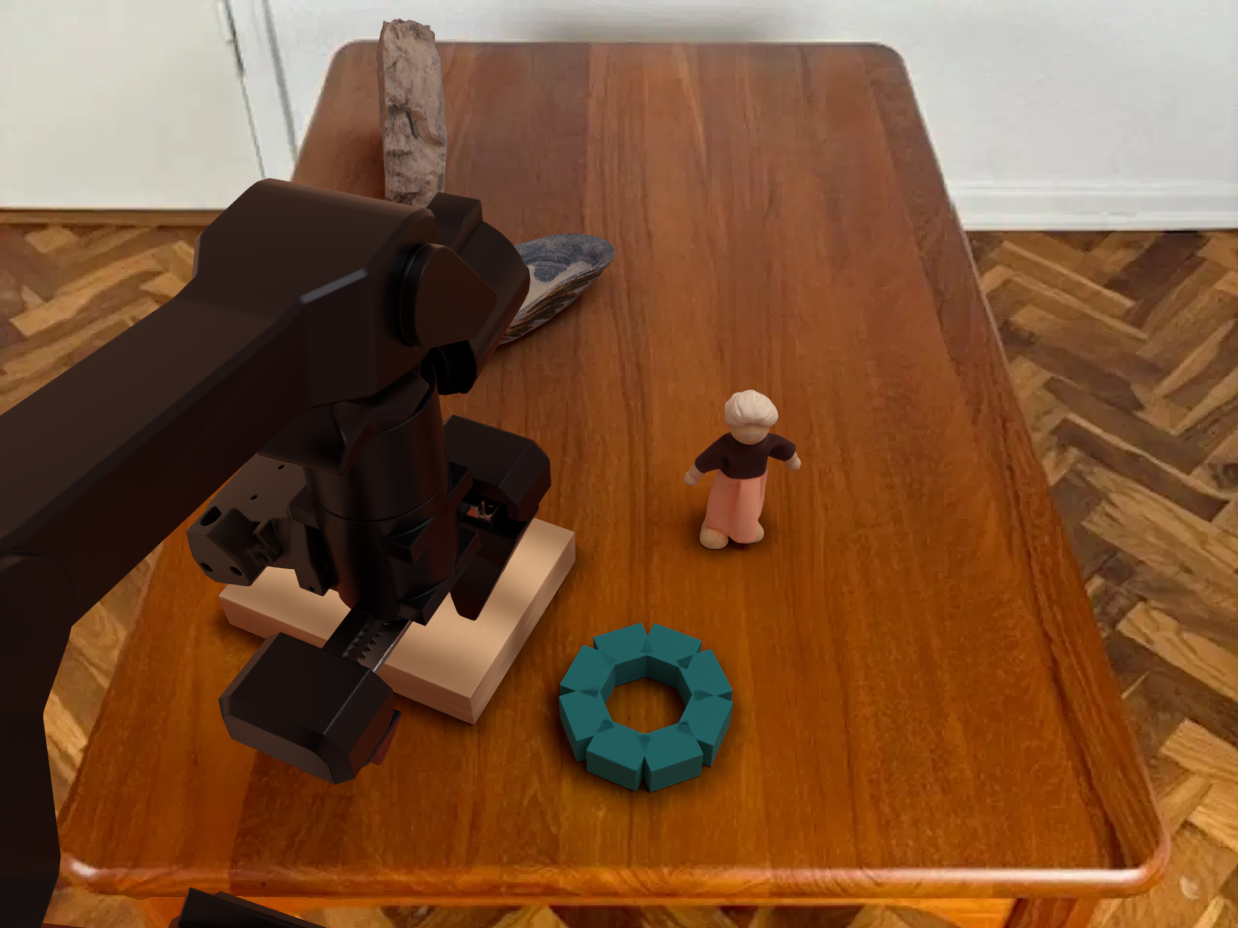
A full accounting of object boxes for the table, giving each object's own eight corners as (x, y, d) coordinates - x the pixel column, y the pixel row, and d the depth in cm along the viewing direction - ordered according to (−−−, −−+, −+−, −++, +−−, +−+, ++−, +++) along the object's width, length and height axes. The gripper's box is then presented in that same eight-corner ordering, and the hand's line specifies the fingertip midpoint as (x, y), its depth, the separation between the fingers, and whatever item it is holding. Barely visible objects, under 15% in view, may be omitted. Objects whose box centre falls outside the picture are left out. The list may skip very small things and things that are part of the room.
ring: (689, 814, 68) (691, 793, 66) (535, 750, 70) (533, 728, 69) (749, 681, 74) (753, 659, 72) (606, 627, 77) (605, 604, 75)
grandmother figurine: (698, 566, 80) (709, 432, 71) (675, 526, 82) (683, 391, 73) (800, 535, 82) (824, 400, 73) (775, 496, 84) (795, 361, 75)
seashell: (617, 378, 93) (617, 328, 89) (456, 379, 93) (449, 329, 89) (614, 259, 104) (614, 210, 100) (469, 260, 103) (464, 211, 100)
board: (474, 725, 72) (470, 698, 69) (228, 624, 77) (217, 595, 75) (576, 560, 80) (575, 531, 78) (349, 479, 86) (343, 449, 83)
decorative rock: (382, 136, 117) (358, -13, 106) (450, 131, 118) (433, -18, 107) (383, 233, 106) (356, 77, 95) (458, 227, 107) (440, 72, 96)
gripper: (338, 286, 56) (384, 506, 68) (58, 568, 45) (170, 777, 56) (549, 351, 53) (561, 570, 64) (308, 673, 41) (373, 872, 53)
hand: (422, 684), depth 59 cm, fingers open, 9 cm apart
